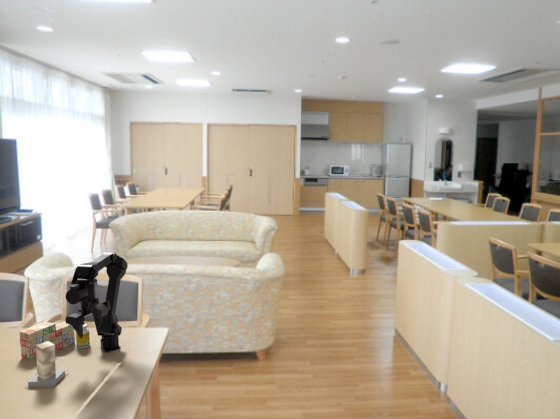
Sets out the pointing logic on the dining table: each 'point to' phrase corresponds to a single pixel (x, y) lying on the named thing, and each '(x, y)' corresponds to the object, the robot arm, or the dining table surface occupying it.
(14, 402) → the dining table surface
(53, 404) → the dining table surface
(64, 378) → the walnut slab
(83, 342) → the supplement bottle
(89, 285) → the robot arm
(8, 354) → the dining table surface
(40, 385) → the slate slab
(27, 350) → the stack of blocks
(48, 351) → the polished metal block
